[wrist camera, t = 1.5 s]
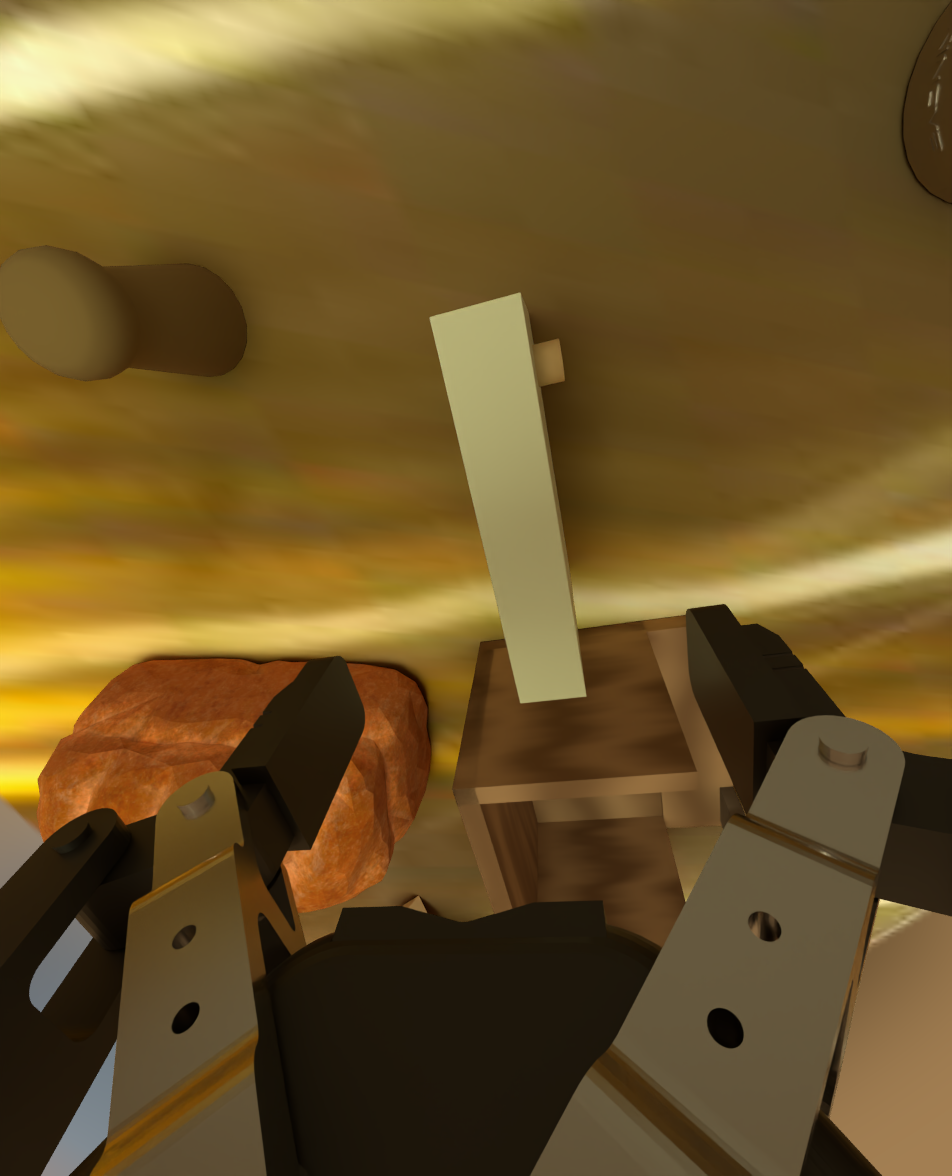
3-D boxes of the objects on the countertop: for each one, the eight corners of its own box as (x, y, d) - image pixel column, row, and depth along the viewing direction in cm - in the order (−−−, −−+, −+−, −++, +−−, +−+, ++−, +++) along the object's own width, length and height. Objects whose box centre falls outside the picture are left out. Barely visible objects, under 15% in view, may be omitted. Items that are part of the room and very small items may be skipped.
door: (549, 307, 28) (558, 282, 15) (586, 565, 34) (613, 693, 22) (477, 326, 29) (429, 317, 16) (526, 574, 35) (520, 703, 23)
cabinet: (723, 610, 35) (827, 762, 22) (727, 809, 43) (803, 1001, 31) (480, 642, 38) (452, 789, 26) (527, 821, 46) (522, 997, 34)
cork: (217, 248, 28) (47, 201, 19) (263, 361, 31) (135, 372, 21) (131, 282, 30) (-70, 255, 20) (182, 388, 32) (26, 410, 22)
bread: (437, 781, 46) (394, 972, 32) (173, 765, 49) (30, 933, 35) (424, 655, 40) (363, 824, 26) (122, 646, 43) (-75, 793, 29)
